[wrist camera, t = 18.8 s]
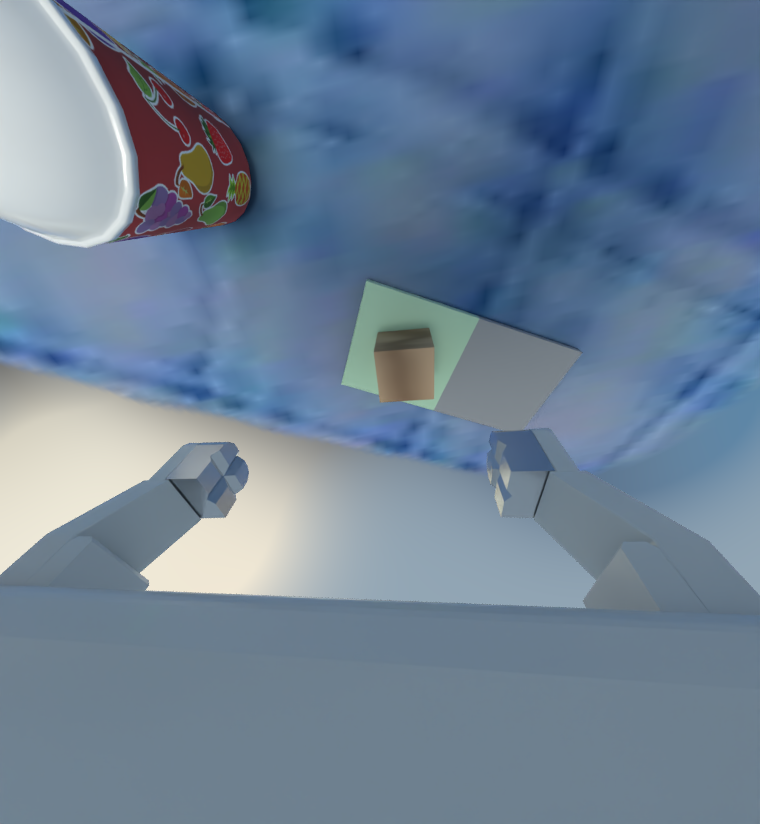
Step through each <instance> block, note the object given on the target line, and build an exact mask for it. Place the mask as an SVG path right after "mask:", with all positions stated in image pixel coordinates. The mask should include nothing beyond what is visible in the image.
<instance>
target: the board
mask: <svg viewBox="0 0 760 824" xmlns="http://www.w3.org/2000/svg"><path fill="white" fill-rule="evenodd" d="M421 328H429V329H430V333H431V336H432V340H433V344H434V399H430V400H413V401H402V402H406V403H409V404H413V405H416V406H420V407H423V408H427V409H430V410H434V411H437V412H441V413H444V414H448V415H451V416H455V417H458V418H462V419H465V420H469V421H472V422H476V423H479V424H483V425H486V426H490V427H493V428H497V429H500V430H504V431H511V430H523V429H524V428H525V426H526V425H527V424H528V423H529V421H530V420H531V419H532V417H533V416H534V415H535V413H536V412H537V411H538V410H539V408H540V407H541V406H542V404H543V403H544V402H545V401H546V399H547V398H548V397H549V395H550V394H551V393H552V391H553V390H554V389H555V388H556V386H557V385H558V384H559V382H560V381H561V380H562V379H563V377H564V376H565V375H566V373H567V372H568V371H569V369H570V368H571V367H572V366H573V364H574V363H575V362H576V360H577V359H578V358H579V356H580V355H581V354H582V352H581V351H580V350H578V349H576V348H573V347H570V346H567V345H564V344H561V343H558V342H555V341H552V340H549V339H546V338H543V337H540V336H537V335H534V334H531V333H528V332H525V331H522V330H519V329H516V328H513V327H510V326H507V325H504V324H501V323H498V322H495V321H492V320H489V319H486V318H483V317H480V316H477V315H474V314H471V313H468V312H465V311H462V310H459V309H456V308H453V307H450V306H447V305H444V304H441V303H438V302H435V301H432V300H429V299H426V298H423V297H420V296H417V295H414V294H411V293H408V292H405V291H402V290H399V289H396V288H393V287H390V286H387V285H384V284H381V283H378V282H375V281H372V280H369V279H367V281H366V285H365V289H364V293H363V297H362V301H361V305H360V309H359V313H358V317H357V322H356V326H355V330H354V334H353V338H352V342H351V346H350V350H349V354H348V359H347V363H346V367H345V371H344V375H343V379H342V383H341V384H342V385H346V386H349V387H353V388H356V389H360V390H363V391H367V392H370V393H374V394H377V395H379V391H378V383H377V375H376V367H375V359H374V348H375V343H376V338H377V333H378V332H386V331H398V330H410V329H421Z"/></svg>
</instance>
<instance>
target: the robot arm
mask: <svg viewBox="0 0 760 824" xmlns="http://www.w3.org/2000/svg"><path fill="white" fill-rule="evenodd" d="M489 443H490V446H491V450H490V451H489V452H488V454H487V472H488V477H489V481H490V484H491V485H492V486H494V487H495V488H496V491H495V500H496V503H497V506H498V509H499V512H500V515H501V517H517V518H534V520H535V521H536V522H537V523H538V524H539V525H540V526H541V527H542V528H543V529H544V530H545V531H546V532H547V533H548V534H549V535H550V536H551V537H552V538H553V539H555V541H556V542H557V543H559V544H560V545H561V546H562V547H563V548H564V549H565V550H566V551H567V552H568V553H569V554H570V555H571V556H572V557H573V558H574V559H575V560H576V561H577V562H578V563H579V564H580V565H581V566H582V567H583V568H584V569H585V570H586V571H587V572H588V573H589V574H590V575H591V576H593V577H594V578H595V579H596V580H597V581H596V582H595V584H594V585H593V587H592V588H591V589H590V591H589V592H588V594H587V595H586V597H585V598H584V600H583V602H584V604H585V606H586V608H566V607H541V606H540V607H539V606H516V605H491V604H489V605H488V604H466V603H441V602H439V603H438V602H416V601H392V600H367V599H341V598H340V599H339V598H317V597H292V596H267V595H242V594H241V595H240V594H216V593H192V592H167V591H145V590H146V588H147V587H148V586H149V580H147V579H146V578H145V577H143V576H142V575H141V574H140V572H141V571H142V570H143V569H145V568H146V567H147V566H148V565H149V564H150V563H151V562H153V561H154V560H155V559H156V558H157V557H158V556H160V555H161V554H162V553H163V552H164V551H165V550H167V549H168V548H169V547H170V546H171V545H172V544H173V543H175V542H176V541H177V540H178V539H179V538H180V537H182V536H183V535H184V534H185V533H186V532H187V531H188V530H190V529H191V528H192V527H193V526H194V525H195V524H197V523H198V522H199V521H200V520H201V519H200V518H222V517H223V518H224V517H226V516H227V514H228V513H229V511H230V509H231V508H232V506H233V504H234V503H235V501H236V495H235V494H236V493H238V492H239V491H240V490H242V489H243V488H244V486H245V484H246V482H247V480H248V474H249V471H248V466H247V464H246V462H245V461H244V460H243V459H241V458H240V457H238V453H239V450H238V449H237V447H236V446H235V444H234V443H230V442H218V443H217V442H214V443H189V444H186V445H183V446H182V447H181V448H180V449H179V450H178V451H177V452H176V453H175V454H174V455H173V456H172V457H171V458H170V459H169V460H168V461H167V462H166V463H165V464H164V465H163V466H162V467H161V469H159V470H158V471H157V472H156V473H155V474H154V475H153V476H152V477H151V478H150V479H149V480H147V481H142V482H141V483H139V484H137V485H135V486H133V487H132V488H130V489H128V490H126V491H124V492H122V493H121V494H119V495H117V496H115V497H114V498H112V499H110V500H108V501H106V502H104V503H103V504H101V505H99V506H97V507H95V508H93V509H92V510H90V511H88V512H86V513H85V514H83V515H81V516H79V517H77V518H75V519H74V520H72V521H70V522H68V523H66V524H64V525H62V526H61V527H59V528H57V529H55V530H53V531H52V532H50V533H48V534H46V535H45V536H44V537H43V538H42V539H40V540H39V541H38V542H37V543H36V544H35V545H34V546H33V547H32V548H30V549H29V550H28V551H27V552H26V553H25V554H24V555H22V556H21V557H20V558H19V559H18V560H17V561H15V562H14V563H13V564H12V565H11V566H10V567H9V568H8V569H7V570H5V571H4V572H3V573H2V574H1V575H0V824H760V595H759V594H758V593H757V592H756V591H755V590H754V589H753V588H752V587H751V586H750V585H749V583H748V582H747V581H746V580H745V579H744V578H743V577H742V576H741V575H740V574H739V573H738V572H737V571H736V570H735V568H734V567H733V566H732V565H731V564H730V563H729V562H728V561H727V560H726V559H725V558H724V557H723V556H722V554H720V552H719V551H718V550H717V549H716V548H715V547H714V546H713V545H712V544H711V543H710V542H709V541H708V540H706V539H704V538H703V537H701V536H699V535H698V534H696V533H694V532H692V531H691V530H688V529H687V528H685V527H683V526H682V525H680V524H678V523H677V522H675V521H673V520H671V519H670V518H668V517H666V516H664V515H663V514H661V513H659V512H657V511H656V510H654V509H652V508H650V507H649V506H647V505H645V504H643V503H642V502H640V501H638V500H636V499H635V498H633V497H631V496H629V495H627V494H626V493H624V492H622V491H621V490H619V489H617V488H615V487H614V486H612V485H610V484H608V483H606V482H605V481H603V480H601V479H599V478H598V477H596V476H594V475H593V474H591V473H589V472H587V471H580V470H579V469H578V468H577V466H576V465H575V463H574V462H573V460H572V459H571V457H570V456H569V455H568V453H567V452H566V450H565V449H564V447H563V446H562V445H561V443H560V442H559V440H558V439H557V437H556V436H555V434H554V433H553V432H552V430H550V429H549V428H541V429H529V430H511V431H492V432H491V435H490V440H489Z"/></svg>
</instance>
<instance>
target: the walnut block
mask: <svg viewBox="0 0 760 824" xmlns="http://www.w3.org/2000/svg"><path fill="white" fill-rule="evenodd" d="M374 359H375V367H376V375H377V383H378V391H379V398H380V402H395V401H413V400H430V399H434V344H433V340H432V336H431V333H430V329H429V328H421V329H410V330H398V331H386V332H378V333H377V338H376V343H375V348H374Z"/></svg>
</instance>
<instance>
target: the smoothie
mask: <svg viewBox="0 0 760 824" xmlns="http://www.w3.org/2000/svg"><path fill="white" fill-rule="evenodd" d="M250 192H251V177H250V170H249V164H248V161H247V159H246V156H245V154H244V151H243V148H242V146H241V144H240V142H239V141H238V139H237V138H236V136H235V135H234V133H233V132H232V130H231V128H230V127H229V126H228V125H227V124H226V123H225V122H224V121H223V120H222V119H221V118H220V117H219V116H218V115H216V114H215V113H214V112H213V111H211V110H210V109H209V108H207V107H206V106H205V105H203V104H202V103H201V102H199V101H198V100H197V99H195V98H194V97H192V96H191V95H190V94H188V93H187V92H186V91H184V90H183V89H182V88H180V87H179V86H178V85H176V84H175V83H174V82H172V81H171V80H169V79H168V78H167V77H165V76H164V75H163V74H161V73H160V72H159V71H157V70H156V69H155V68H153V67H152V66H151V65H149V64H148V63H147V62H145V61H144V60H142V59H141V58H140V57H138V56H137V55H136V54H134V53H133V52H132V51H130V50H129V49H128V48H126V47H125V46H124V45H122V44H121V43H119V42H118V41H117V40H115V39H114V38H113V37H111V36H110V35H109V34H107V33H106V32H105V31H103V30H102V29H101V28H99V27H98V26H96V25H95V24H94V23H92V22H91V21H90V20H88V19H87V18H86V17H84V16H83V15H82V14H80V13H79V12H78V11H76V10H75V9H74V8H72V7H71V6H69V5H68V4H67V3H65V2H64V1H63V0H0V219H3V220H5V221H7V222H10V223H12V224H15V225H18V226H19V227H21V228H22V229H24V230H26V231H28V232H30V233H33V234H35V235H38V236H40V237H42V238H45V239H47V240H50V241H52V242H54V243H57V244H59V245H66V246H74V247H82V248H91V247H94V246H97V245H100V244H104V243H112V242H119V241H125V240H131V239H138V238H144V237H150V236H157V235H163V234H169V233H175V232H182V231H188V230H194V229H201V228H207V227H213V226H220V225H225V224H228V223H231V222H234V221H236V220H237V219H238V218H239V217H240V216H241V215H242V214H243V213H244V212H245V209H246V207H247V205H248V202H249V200H250Z"/></svg>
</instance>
